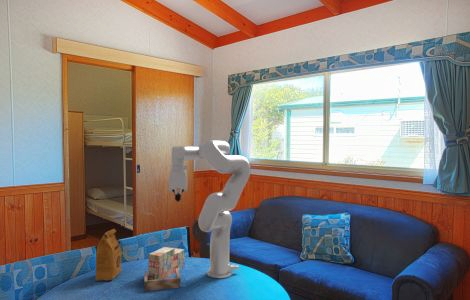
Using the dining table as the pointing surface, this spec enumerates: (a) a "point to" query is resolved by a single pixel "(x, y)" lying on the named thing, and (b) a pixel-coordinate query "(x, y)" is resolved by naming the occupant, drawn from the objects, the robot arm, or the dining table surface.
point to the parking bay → (162, 282)
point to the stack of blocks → (165, 262)
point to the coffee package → (108, 257)
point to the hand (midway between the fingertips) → (177, 201)
